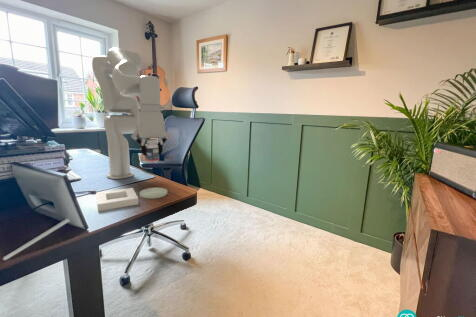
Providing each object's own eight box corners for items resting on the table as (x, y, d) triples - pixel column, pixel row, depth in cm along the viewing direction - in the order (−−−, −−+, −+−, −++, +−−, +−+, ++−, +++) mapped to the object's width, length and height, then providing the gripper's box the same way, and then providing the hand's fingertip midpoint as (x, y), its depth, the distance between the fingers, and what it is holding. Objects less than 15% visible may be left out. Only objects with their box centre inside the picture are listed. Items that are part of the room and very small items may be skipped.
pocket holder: (96, 198, 90) (96, 192, 89) (132, 193, 97) (132, 187, 96) (98, 211, 79) (97, 204, 79) (138, 204, 86) (138, 198, 86)
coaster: (137, 192, 99) (137, 189, 98) (163, 188, 104) (163, 186, 104) (142, 200, 90) (142, 198, 89) (170, 196, 95) (170, 193, 95)
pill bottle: (142, 161, 93) (141, 139, 91) (153, 159, 98) (152, 138, 96) (151, 163, 91) (150, 140, 89) (161, 160, 95) (161, 139, 93)
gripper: (169, 109, 98) (170, 151, 101) (125, 108, 89) (127, 154, 92) (174, 110, 91) (175, 154, 95) (127, 108, 82) (130, 157, 86)
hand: (152, 154), depth 94 cm, fingers closed on pill bottle, 5 cm apart
